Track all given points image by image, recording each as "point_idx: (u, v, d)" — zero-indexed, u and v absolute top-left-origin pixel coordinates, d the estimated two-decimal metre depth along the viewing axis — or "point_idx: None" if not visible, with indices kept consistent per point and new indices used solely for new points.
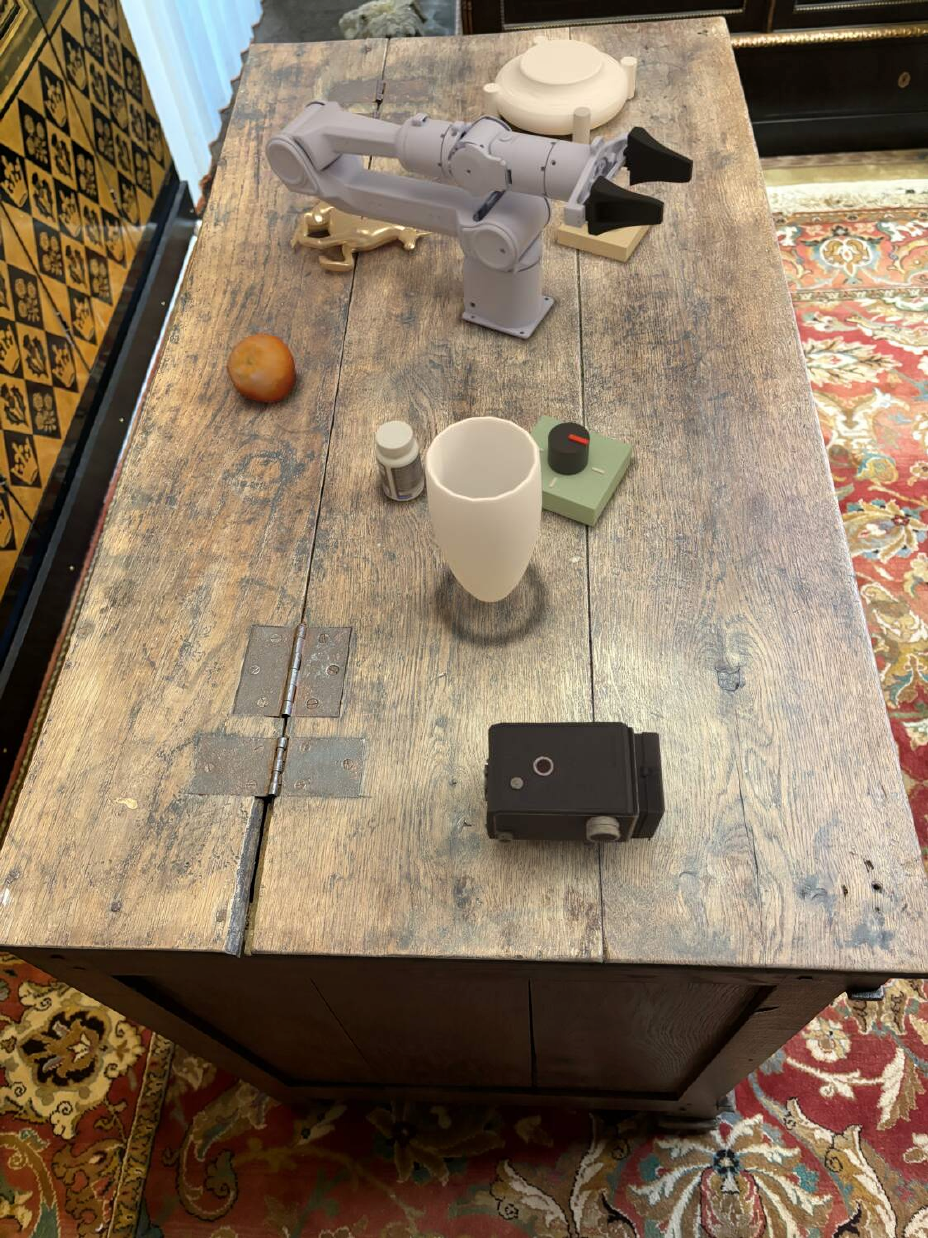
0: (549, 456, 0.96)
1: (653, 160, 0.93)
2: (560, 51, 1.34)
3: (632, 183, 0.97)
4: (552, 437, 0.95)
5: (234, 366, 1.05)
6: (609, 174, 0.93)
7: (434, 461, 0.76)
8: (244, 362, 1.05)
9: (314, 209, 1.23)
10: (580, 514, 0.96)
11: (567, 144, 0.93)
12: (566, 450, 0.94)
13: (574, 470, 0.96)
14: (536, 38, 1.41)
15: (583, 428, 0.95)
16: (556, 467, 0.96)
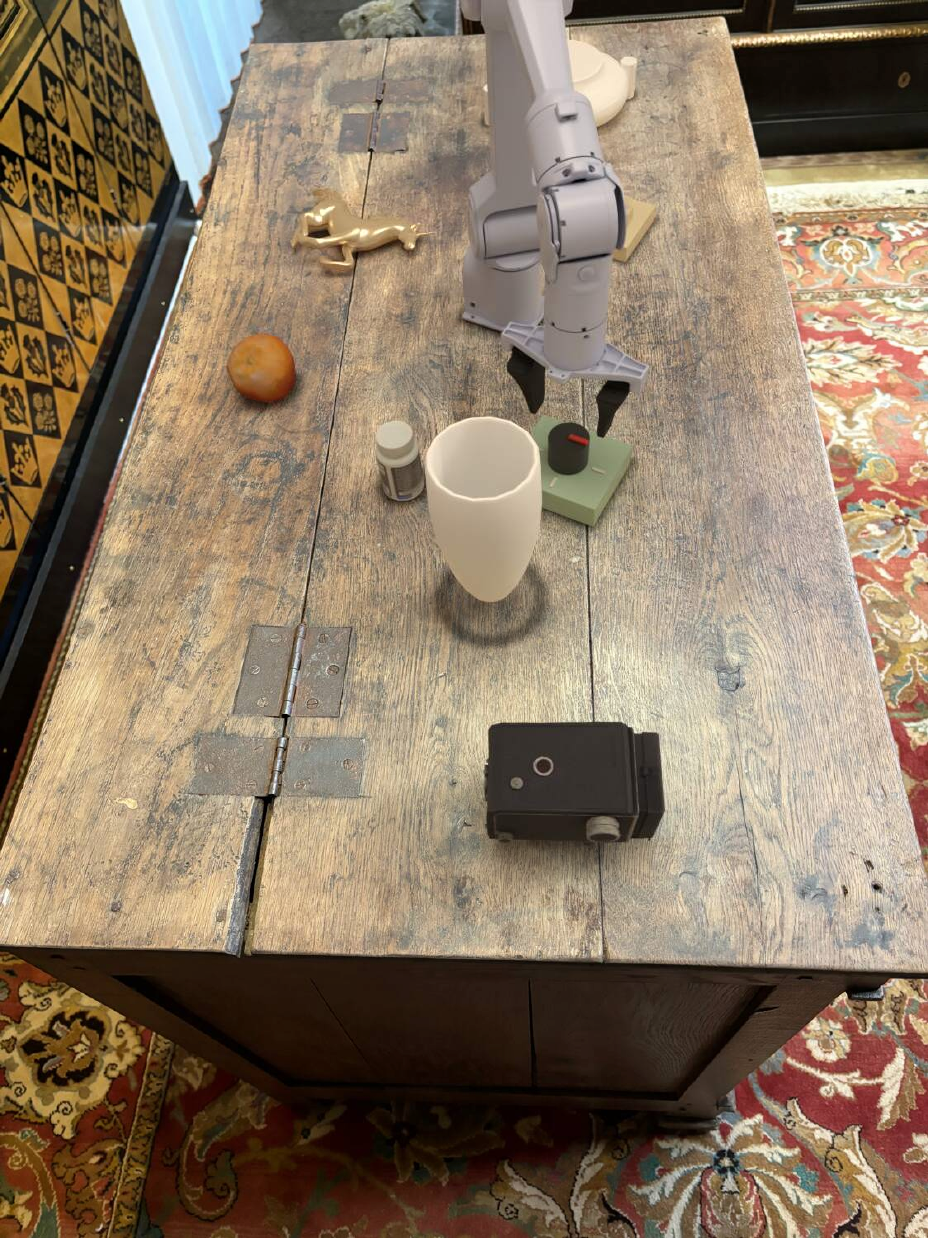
0: (549, 456, 0.96)
1: None
2: None
3: None
4: (552, 437, 0.95)
5: (234, 366, 1.05)
6: None
7: (434, 461, 0.76)
8: (244, 362, 1.05)
9: (314, 209, 1.23)
10: (580, 514, 0.96)
11: (564, 342, 0.80)
12: (566, 450, 0.94)
13: (574, 470, 0.96)
14: None
15: (583, 428, 0.95)
16: (556, 467, 0.96)
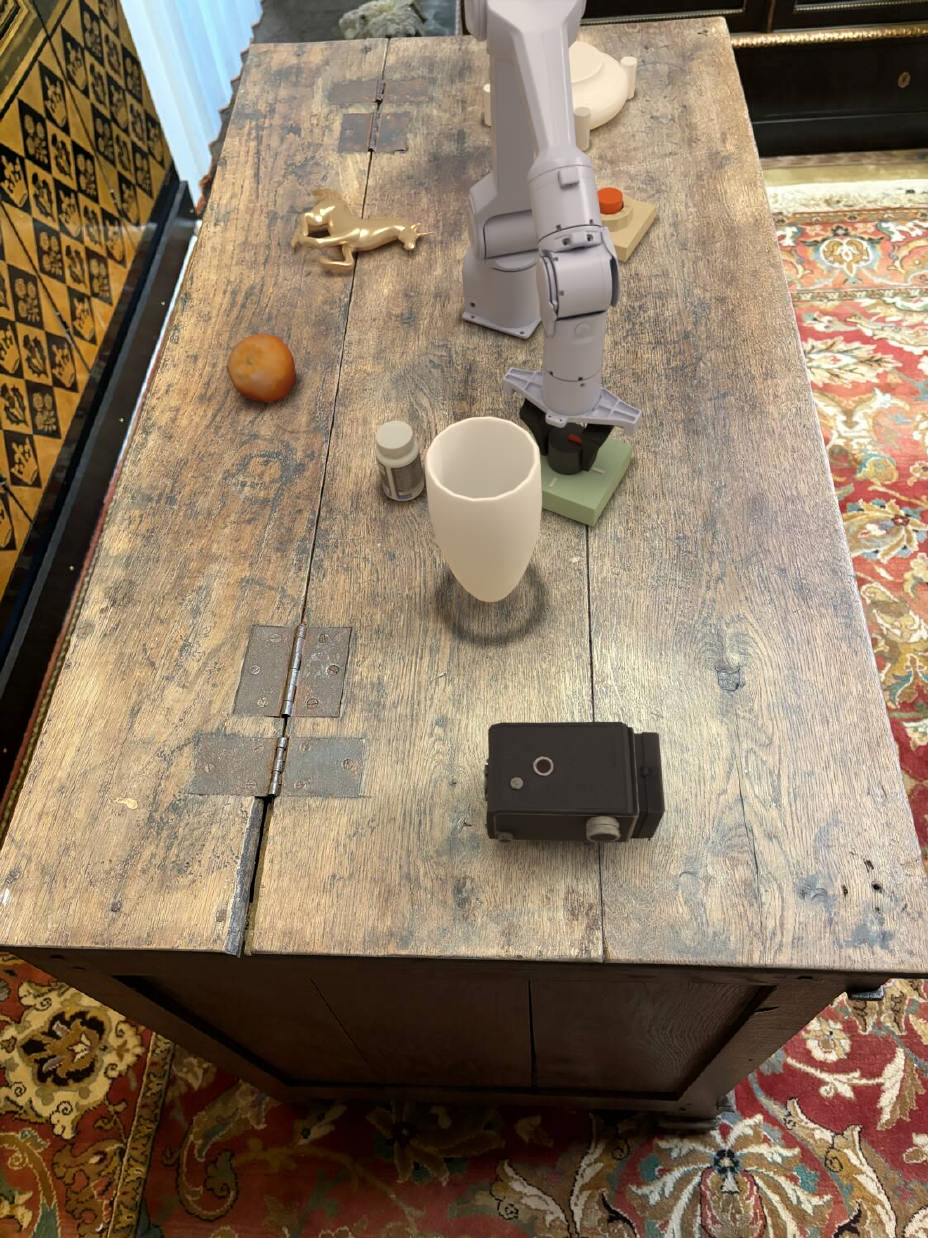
0: (549, 456, 0.96)
1: None
2: None
3: None
4: (552, 436, 0.95)
5: (233, 366, 1.05)
6: None
7: (434, 461, 0.76)
8: (244, 362, 1.05)
9: (314, 209, 1.23)
10: (580, 514, 0.96)
11: (562, 390, 0.85)
12: (566, 450, 0.94)
13: (574, 470, 0.96)
14: None
15: (583, 428, 0.95)
16: (556, 466, 0.96)
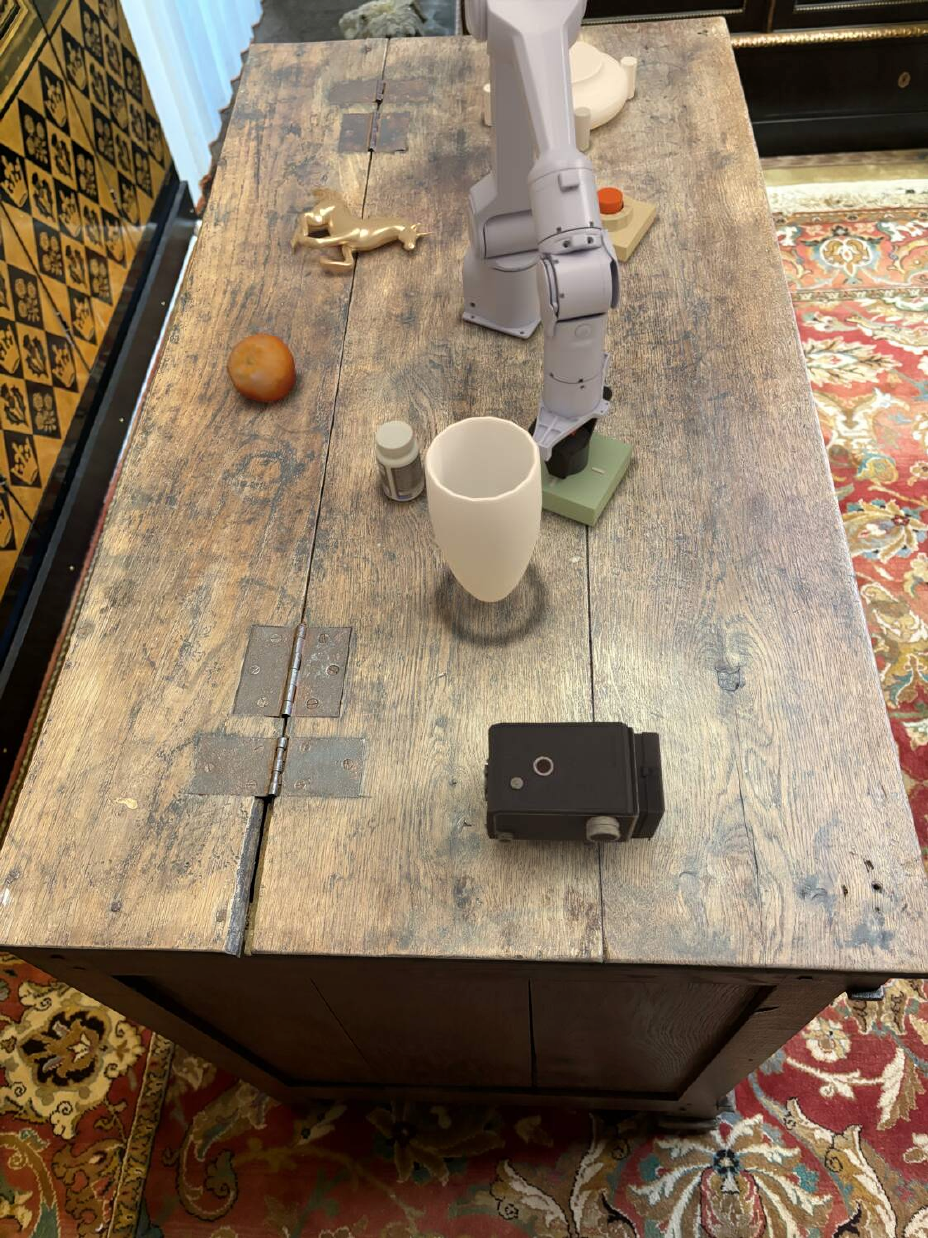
0: (576, 464, 0.95)
1: None
2: None
3: None
4: None
5: (233, 366, 1.05)
6: None
7: (434, 461, 0.76)
8: (244, 362, 1.05)
9: (314, 209, 1.23)
10: (580, 514, 0.96)
11: (600, 379, 0.86)
12: (586, 439, 0.94)
13: None
14: None
15: None
16: (585, 462, 0.96)
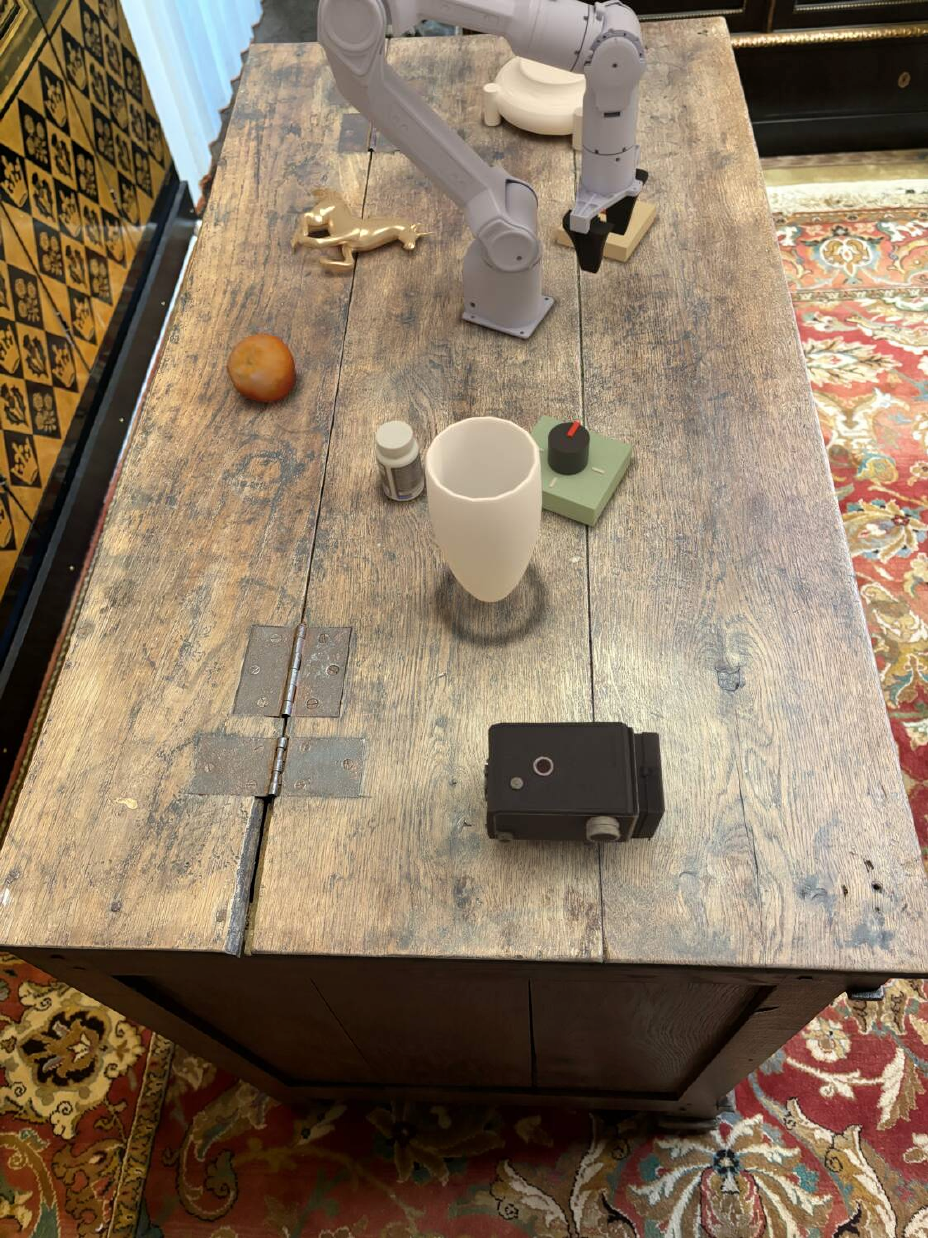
0: (576, 464, 0.95)
1: (622, 202, 1.05)
2: None
3: None
4: (568, 449, 0.94)
5: (234, 366, 1.05)
6: None
7: (434, 461, 0.76)
8: (244, 362, 1.05)
9: (314, 209, 1.23)
10: (580, 514, 0.96)
11: (633, 155, 0.96)
12: (586, 438, 0.94)
13: None
14: None
15: (557, 426, 0.95)
16: (585, 462, 0.96)
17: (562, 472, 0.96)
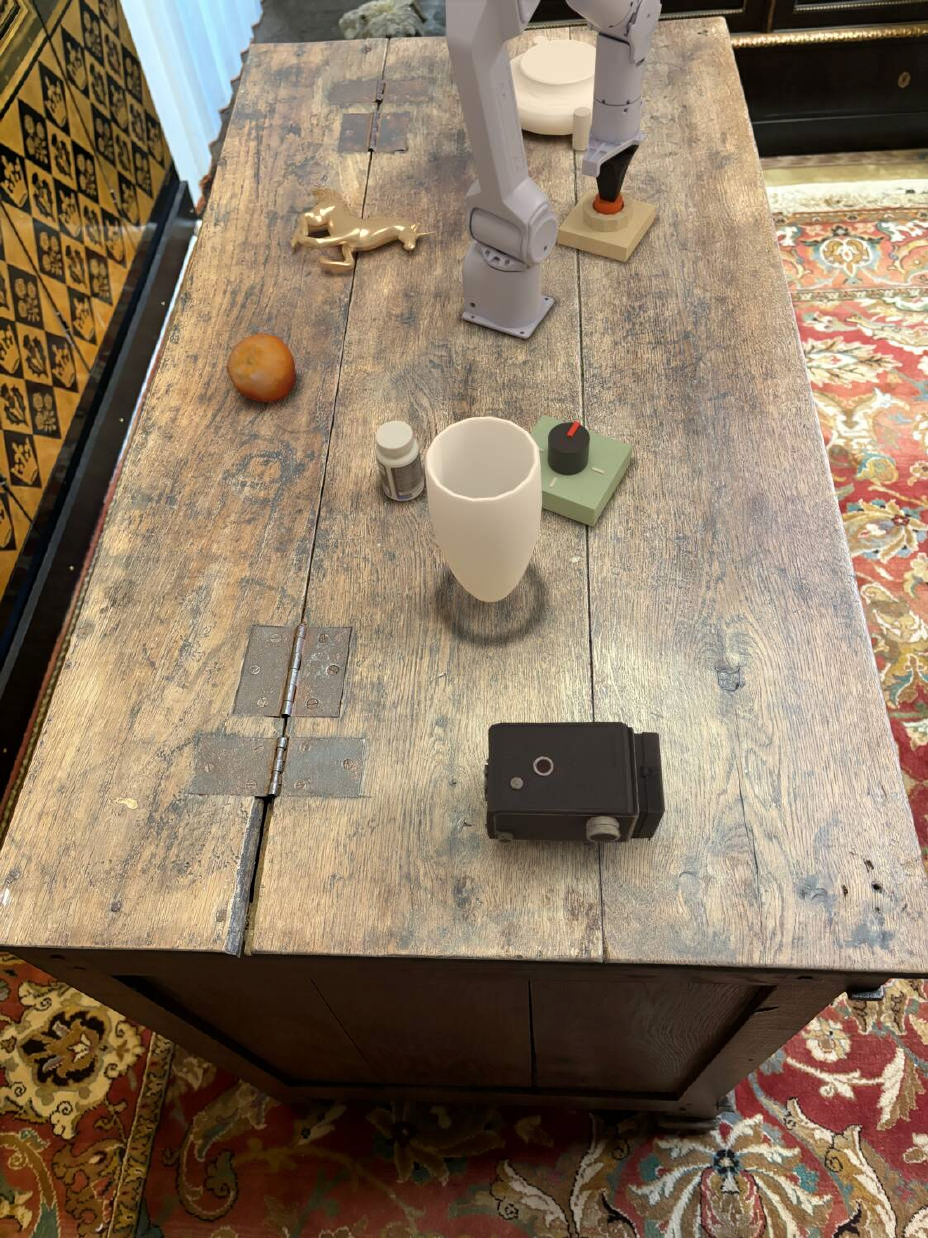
0: (576, 464, 0.95)
1: None
2: (560, 51, 1.34)
3: None
4: (568, 449, 0.94)
5: (234, 366, 1.05)
6: None
7: (434, 461, 0.76)
8: (244, 362, 1.05)
9: (314, 209, 1.23)
10: (580, 514, 0.96)
11: (639, 107, 1.07)
12: (586, 438, 0.94)
13: None
14: (536, 38, 1.41)
15: (557, 426, 0.95)
16: (585, 462, 0.96)
17: (562, 472, 0.96)
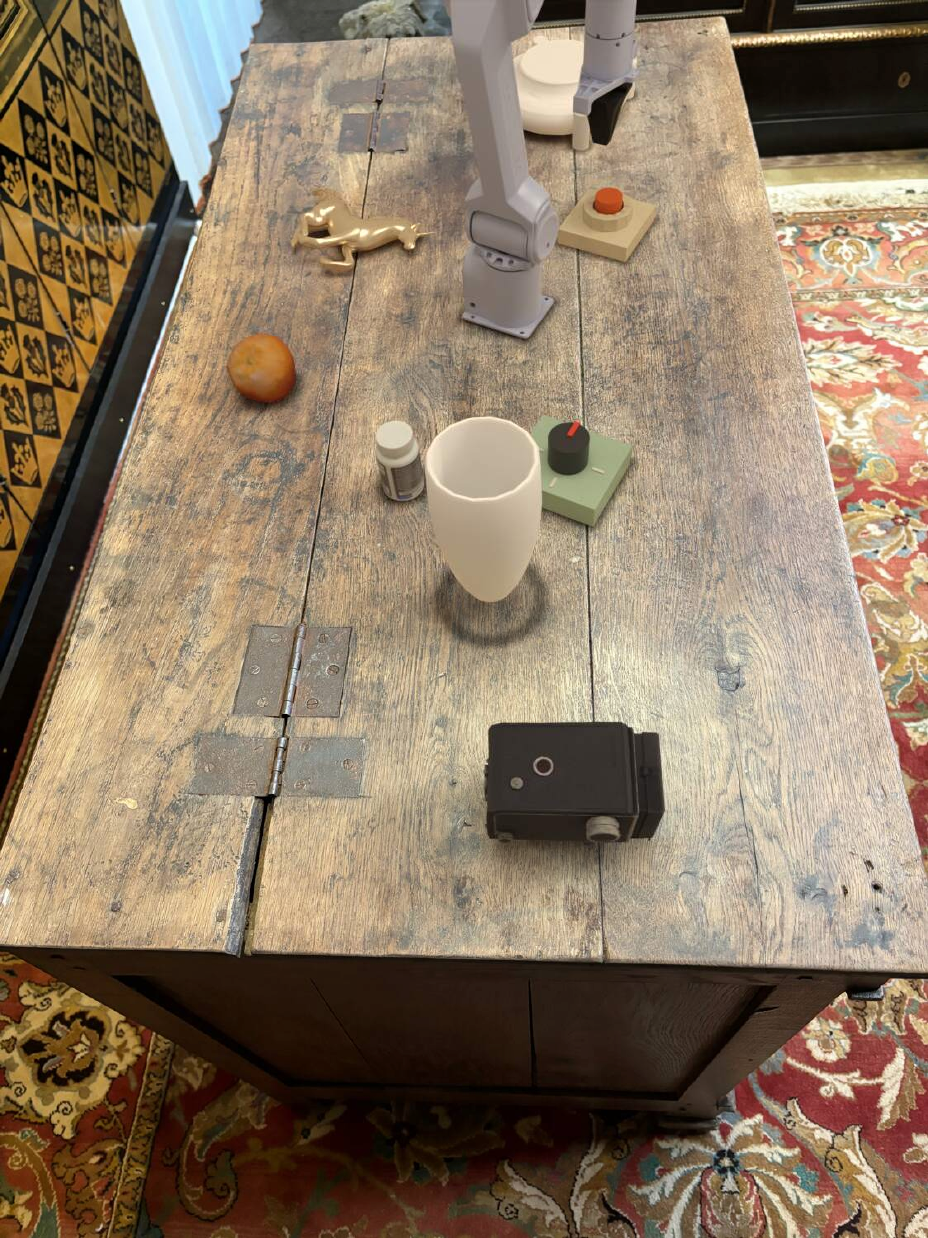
0: (576, 464, 0.95)
1: None
2: (560, 51, 1.34)
3: None
4: (568, 449, 0.94)
5: (234, 366, 1.05)
6: None
7: (434, 461, 0.76)
8: (244, 362, 1.05)
9: (314, 209, 1.23)
10: (580, 514, 0.96)
11: (631, 42, 1.04)
12: (586, 438, 0.94)
13: None
14: (536, 38, 1.41)
15: (557, 426, 0.95)
16: (585, 462, 0.96)
17: (562, 472, 0.96)
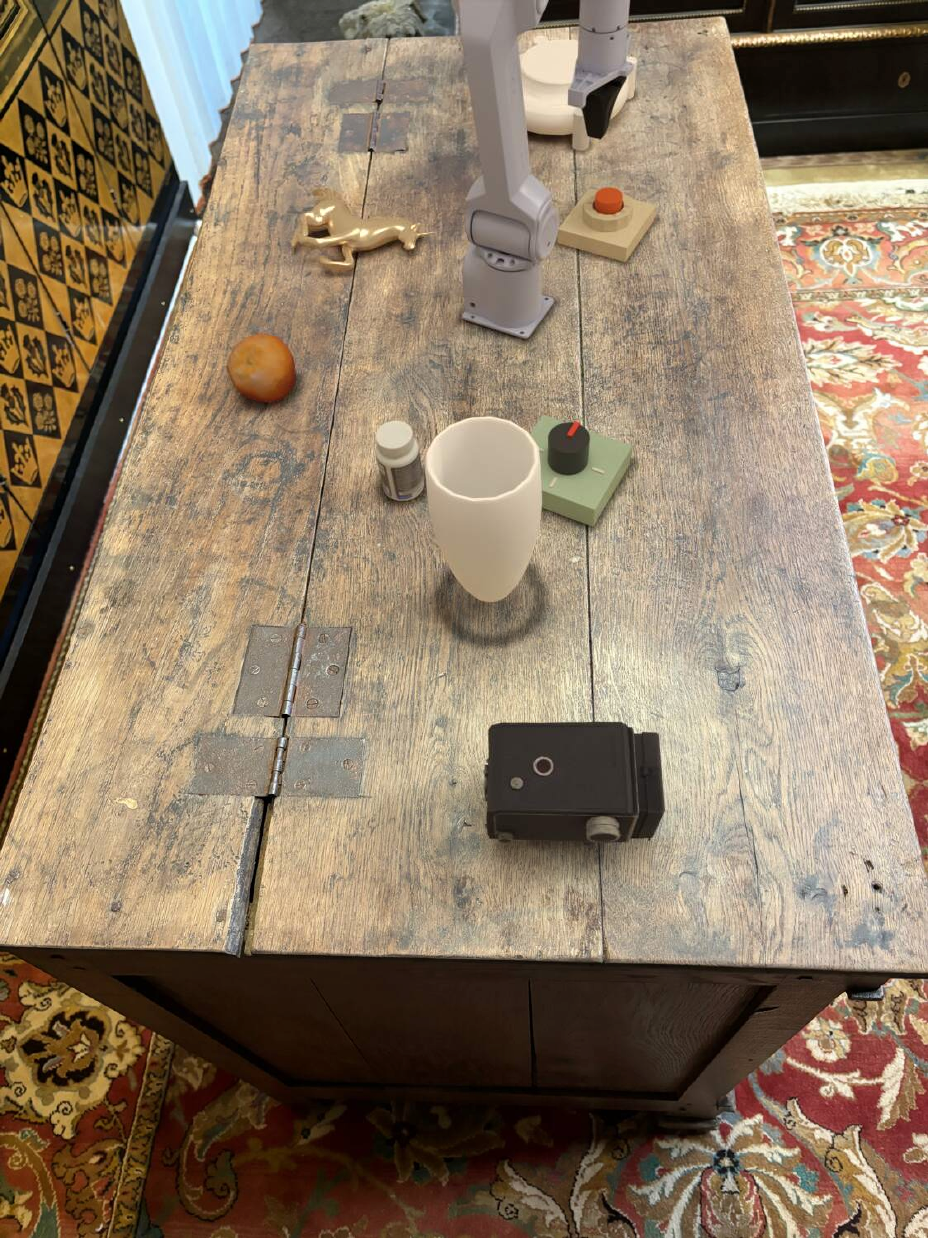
0: (576, 464, 0.95)
1: None
2: (560, 51, 1.34)
3: None
4: (568, 449, 0.94)
5: (234, 366, 1.05)
6: None
7: (434, 461, 0.76)
8: (244, 362, 1.05)
9: (314, 209, 1.23)
10: (580, 514, 0.96)
11: (625, 36, 1.05)
12: (586, 438, 0.94)
13: None
14: (536, 38, 1.41)
15: (557, 426, 0.95)
16: (585, 462, 0.96)
17: (562, 472, 0.96)
